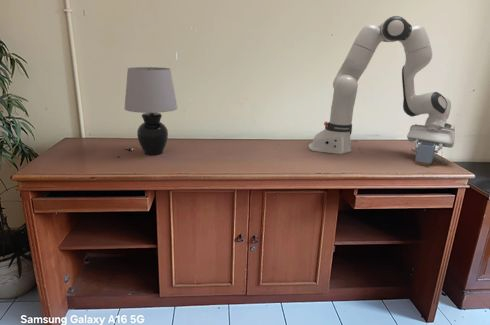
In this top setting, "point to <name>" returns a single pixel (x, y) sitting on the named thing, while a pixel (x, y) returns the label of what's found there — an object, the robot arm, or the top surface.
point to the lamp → (150, 104)
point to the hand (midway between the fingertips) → (426, 150)
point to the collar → (425, 152)
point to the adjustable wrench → (433, 157)
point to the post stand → (422, 163)
